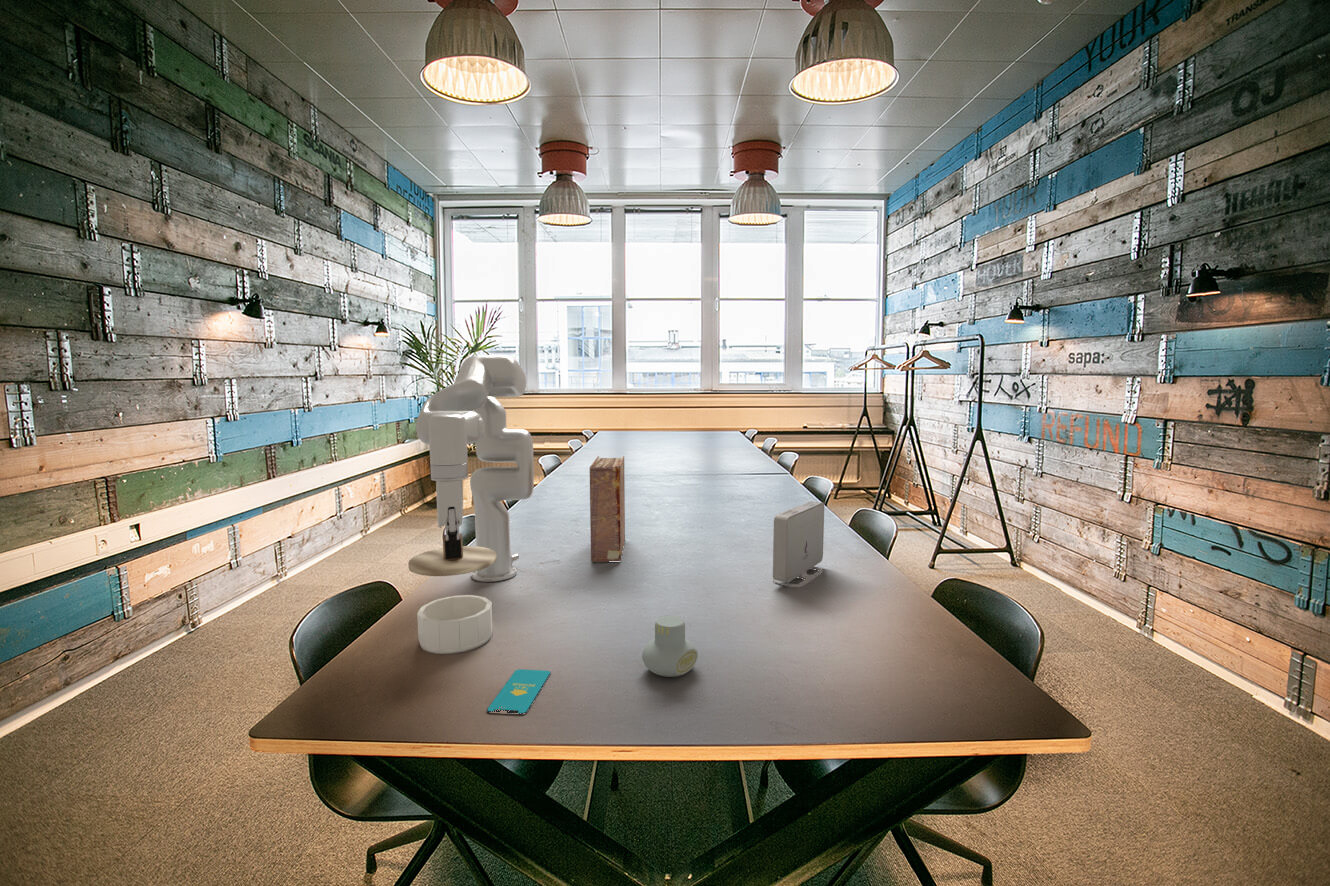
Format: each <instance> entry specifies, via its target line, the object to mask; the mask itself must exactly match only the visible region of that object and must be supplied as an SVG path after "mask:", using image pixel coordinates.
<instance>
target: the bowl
mask: <svg viewBox="0 0 1330 886" xmlns="http://www.w3.org/2000/svg"><path fill="white" fill-rule="evenodd" d="M492 603H493V602H492V601H491V600H490V599H488V598H487V597H485V596H481V595H474V594H465V595H462V594H461V595H460V594H459V595H451V596H446V597H442V598H438V599H435V600H432V601H430V602H428V603H426V604H424V605H422V606H421V607H420V609H418V612H417V613H416V615H417V616H416V617H417V620H416V621H417V637H418V642H419V646H420V648H421V649H422V651H425V652H426V653H430V654H435V655H451V654H452V655H453V654H460V653H465V652H469V651H472V650H475V649H477V648H479V647H482V646H483V645H485V644H486V643H488V642H489V640H491V638H492V636H493V629H494V628H493V607H492V606H493V604H492Z"/></svg>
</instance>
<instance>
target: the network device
mask: <svg viewBox="0 0 1330 886" xmlns="http://www.w3.org/2000/svg"><path fill="white" fill-rule="evenodd" d="M824 529H825V503H824V502H822V501H816V500H815V501H814V500H810V501H807V502H805V503H803V504H802V503H801V504H800V505H797V506H795V507H792V508H790V509H788V510H785V511H783V512H780V513H778V514H775V516H774V518H773V544H772V545H773V547H772V582H773V583H774V582H775V583H777V584H776V585H778V584H781V585H780V586H783V585H785V586H784V587H787V586H790V587H789V588H793V587H798V588H801V587H800V586H802V587H804V586H805V585H806V583H807V582H808V583H810V582H811V581H812V580H811V579H813V578H814V579H815V577H816V576H817V575H819V574H820V573H823V569H822V568H820V567H817V566H816V565H819V564H820V563H821V562H822V561H823V558H824V538H825V537H824ZM810 568H812V569H816V570H819V571H816V570H815V573H813V574H808V573H807V572H808V571H809V570H812V569H810ZM820 575H821V574H820ZM820 575H819V576H820ZM796 577H799V578H803V579H805V580H803V579H802V581H800V582H799V583H797V584H796V583H792V582H791V581H793V580H794V579H797V578H796ZM817 577H818V576H817ZM817 577H816V578H817ZM799 578H798V579H799ZM814 579H813V580H814ZM810 580H811V581H810ZM809 581H810V582H809ZM790 582H791V583H790ZM775 583H774V584H775ZM808 583H807V584H808ZM804 584H805V585H804ZM803 585H804V586H803Z"/></svg>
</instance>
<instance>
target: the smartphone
mask: <svg viewBox="0 0 1330 886" xmlns="http://www.w3.org/2000/svg"><path fill="white" fill-rule="evenodd" d="M550 673H551V671H550V670H542V669H540V670H539V669H526V668H525V669H521V668H519V669H516V670H514V672H513V673H512V674H511V676H510V677H509V679H508V680H507V681H506V682H505V684H504V685H503V687H502V688H501V689H500V691H499V692H498V693H497V695H496V696H495V698H494V699H493V700H492V702H491V703H490V704H489V706H488V707H487V709H486V712H487V711H488V712H491V711H492V712H493V711H494V712H495V710H496V709H497V710H498V709H500V711H501V710H503V711H504V710H505V711H507V713H519V714H520V713H521V714H523V713H526V712H527V711H528V709H529V708H530V706H531V704H532V703H533V701H534V700H535V698H536V696H537V695H538V696H539V694H540V693H539V692H541V691H542V689H543V688H544V686H545V684H546V683H547V681H548V679H549V678H548V676H549V675H550V676H551V674H552V673H551V674H550ZM550 676H549V677H550ZM547 678H548V679H547ZM546 680H547V681H546ZM545 682H546V683H545ZM544 683H545V684H544ZM543 685H544V686H543ZM542 687H543V688H542ZM541 688H542V689H541ZM540 690H541V691H540ZM538 693H539V694H538ZM538 696H537V697H538ZM536 699H537V698H536ZM535 701H536V700H535ZM533 704H534V703H533ZM501 706H502V708H503V709H502V708H501ZM499 707H500V708H499ZM504 707H505V708H504ZM530 709H531V708H530ZM530 709H529V710H530ZM497 710H496V712H500V711H499V710H498V711H497ZM509 710H510V711H509ZM514 710H515V711H514ZM508 711H509V712H508ZM528 712H529V711H528Z"/></svg>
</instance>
